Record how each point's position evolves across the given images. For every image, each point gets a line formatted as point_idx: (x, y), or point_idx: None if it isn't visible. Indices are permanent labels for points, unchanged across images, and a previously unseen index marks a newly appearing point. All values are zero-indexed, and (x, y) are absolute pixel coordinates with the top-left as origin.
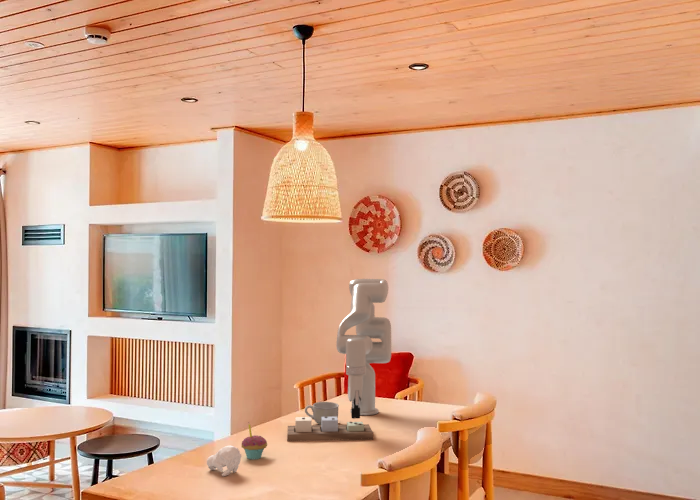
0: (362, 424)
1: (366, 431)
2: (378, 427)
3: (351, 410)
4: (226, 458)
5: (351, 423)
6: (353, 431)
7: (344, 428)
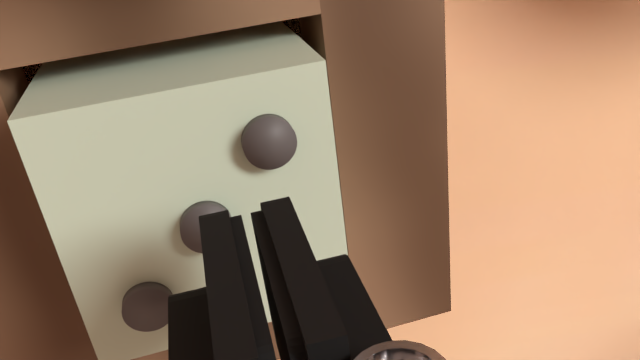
0: (165, 333)
1: (62, 350)
2: (542, 329)
3: (302, 281)
4: None
5: (212, 155)
6: (9, 178)
7: (193, 3)
